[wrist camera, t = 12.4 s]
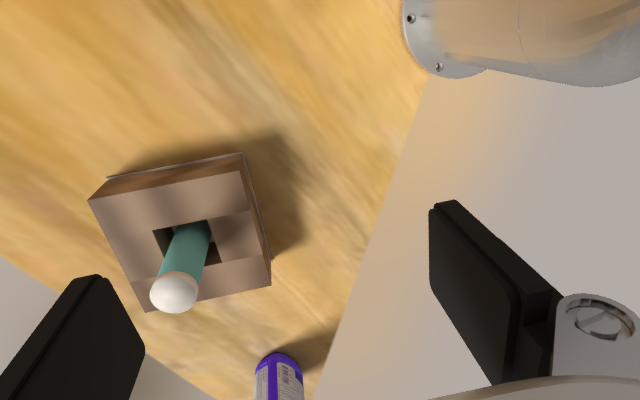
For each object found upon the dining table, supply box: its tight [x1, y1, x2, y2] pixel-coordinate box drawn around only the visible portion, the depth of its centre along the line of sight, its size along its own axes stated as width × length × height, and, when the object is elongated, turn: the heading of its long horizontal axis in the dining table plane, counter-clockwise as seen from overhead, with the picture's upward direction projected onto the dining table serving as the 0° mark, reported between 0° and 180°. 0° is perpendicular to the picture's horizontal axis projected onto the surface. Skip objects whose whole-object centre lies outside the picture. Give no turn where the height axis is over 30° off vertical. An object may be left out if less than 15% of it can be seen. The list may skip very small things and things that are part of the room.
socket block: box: [87, 151, 273, 313], centre depth 38 cm, size 14×14×5 cm
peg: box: [150, 219, 212, 313], centre depth 35 cm, size 4×4×12 cm
